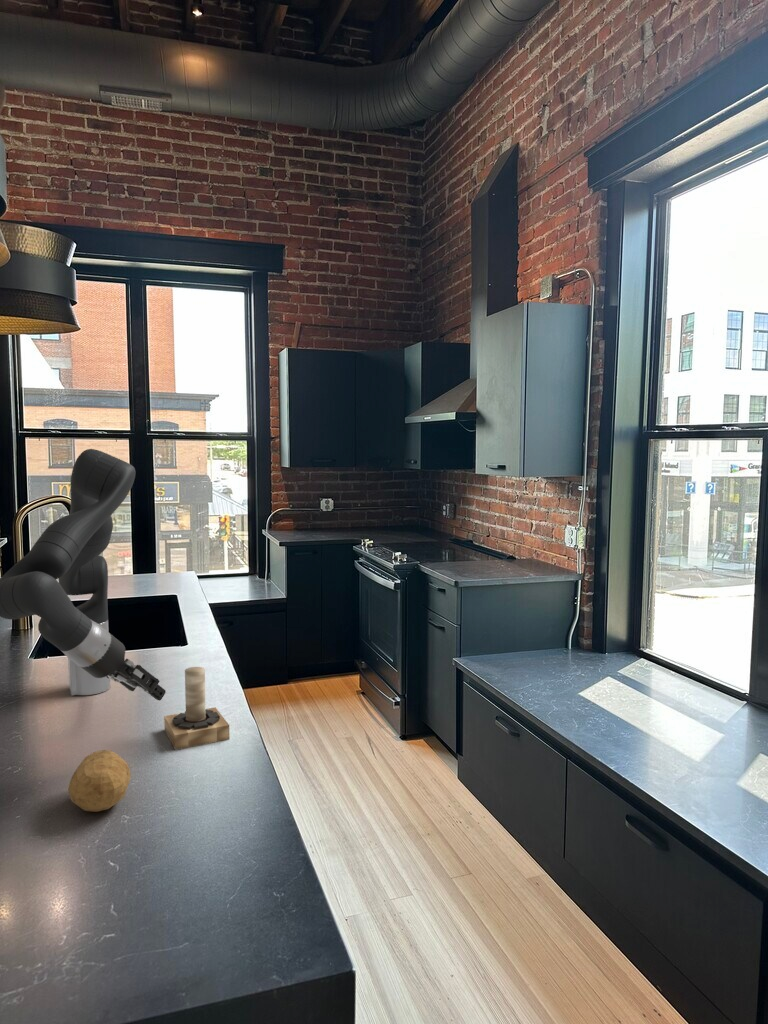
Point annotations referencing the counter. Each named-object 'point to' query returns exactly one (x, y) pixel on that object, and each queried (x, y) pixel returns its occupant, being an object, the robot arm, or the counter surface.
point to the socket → (196, 729)
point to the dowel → (195, 694)
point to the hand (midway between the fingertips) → (148, 691)
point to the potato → (99, 781)
